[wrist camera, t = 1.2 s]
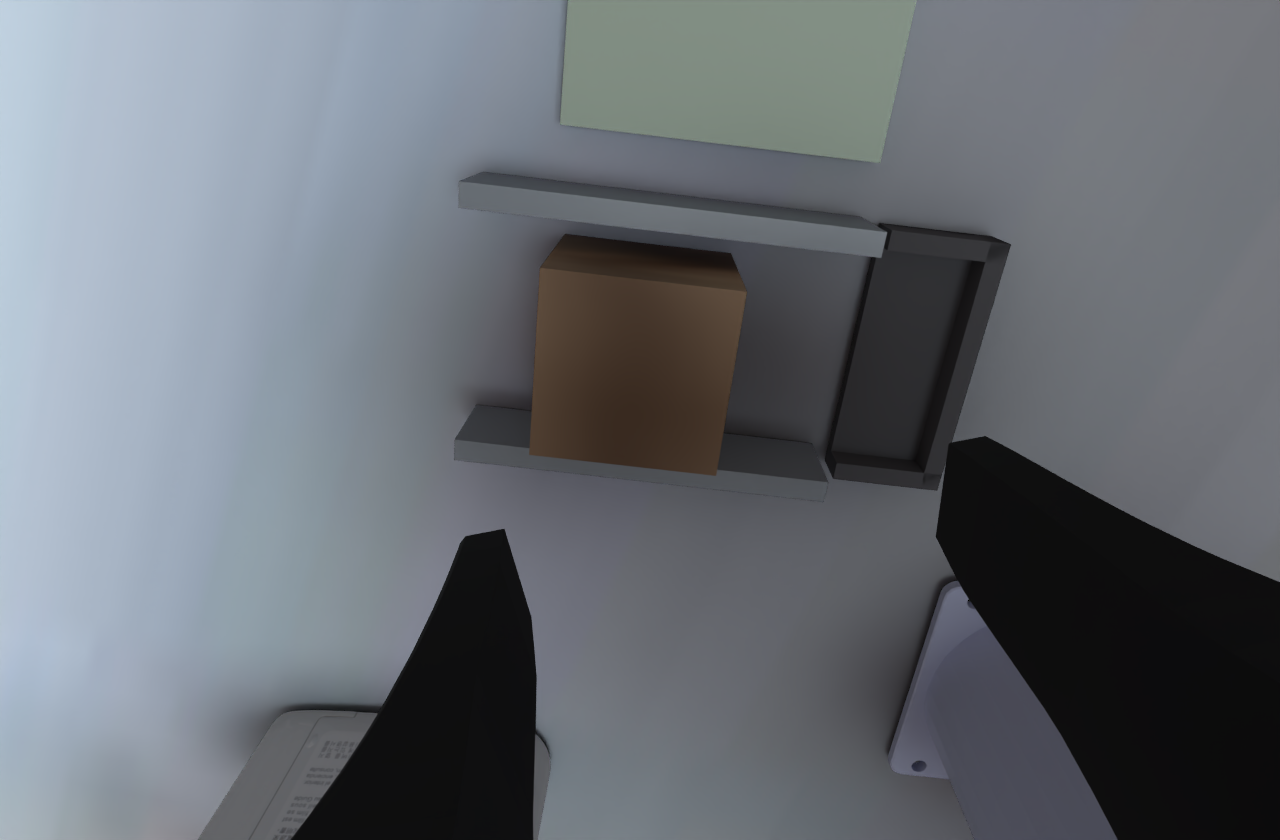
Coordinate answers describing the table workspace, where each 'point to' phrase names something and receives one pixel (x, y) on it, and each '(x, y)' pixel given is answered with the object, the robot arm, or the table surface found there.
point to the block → (635, 354)
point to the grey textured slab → (309, 775)
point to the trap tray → (913, 355)
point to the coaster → (739, 71)
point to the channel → (741, 457)
